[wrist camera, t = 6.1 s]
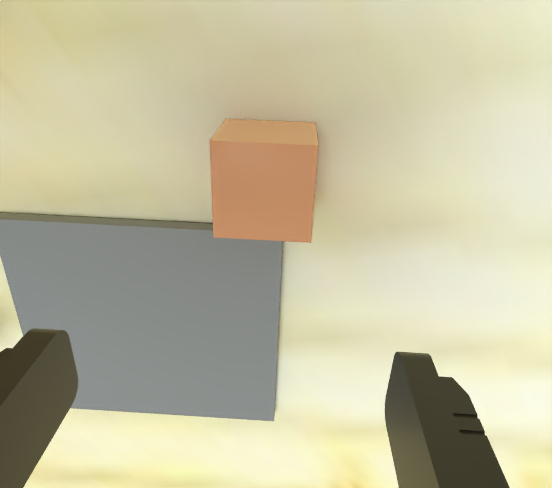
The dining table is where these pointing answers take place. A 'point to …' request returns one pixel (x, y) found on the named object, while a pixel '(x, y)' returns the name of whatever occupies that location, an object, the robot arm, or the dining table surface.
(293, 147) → the terracotta block
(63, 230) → the slate board
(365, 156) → the dining table surface
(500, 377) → the dining table surface
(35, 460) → the robot arm
